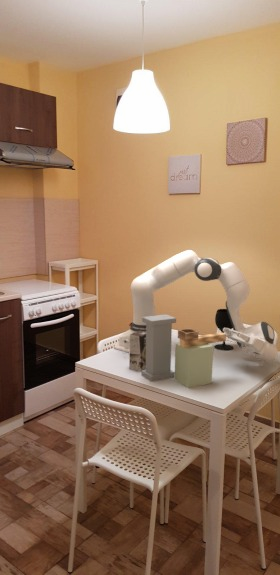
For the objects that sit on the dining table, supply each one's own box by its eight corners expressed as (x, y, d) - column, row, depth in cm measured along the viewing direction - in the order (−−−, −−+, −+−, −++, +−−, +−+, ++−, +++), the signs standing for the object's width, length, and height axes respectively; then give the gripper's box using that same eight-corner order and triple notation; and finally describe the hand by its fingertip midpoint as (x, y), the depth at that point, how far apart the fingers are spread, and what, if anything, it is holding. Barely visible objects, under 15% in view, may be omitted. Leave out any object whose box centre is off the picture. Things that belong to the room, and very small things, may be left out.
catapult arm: (219, 338, 196) (219, 324, 194) (228, 341, 190) (228, 327, 189) (177, 344, 185) (177, 329, 184) (185, 348, 180) (186, 333, 179)
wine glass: (219, 343, 243) (221, 307, 239) (237, 347, 237) (239, 310, 233) (210, 347, 235) (211, 310, 231) (228, 351, 228) (230, 313, 225)
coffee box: (141, 371, 199) (141, 336, 196) (128, 368, 202) (129, 334, 199) (150, 365, 207) (151, 331, 204) (138, 362, 210) (139, 329, 207)
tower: (164, 370, 200) (165, 314, 196) (174, 376, 193) (176, 318, 189) (141, 375, 194) (142, 317, 190) (150, 381, 187) (151, 321, 183)
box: (197, 375, 195) (198, 339, 193) (211, 382, 187) (213, 346, 184) (174, 379, 190) (175, 343, 187) (188, 387, 181) (189, 350, 178)
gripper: (238, 331, 211) (219, 320, 204) (270, 342, 193) (250, 330, 186) (232, 343, 210) (213, 332, 203) (264, 356, 192) (244, 344, 186)
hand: (231, 331), depth 194 cm, fingers open, 8 cm apart
